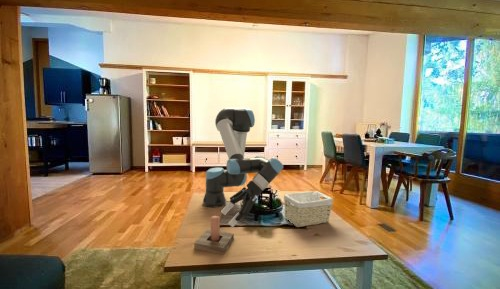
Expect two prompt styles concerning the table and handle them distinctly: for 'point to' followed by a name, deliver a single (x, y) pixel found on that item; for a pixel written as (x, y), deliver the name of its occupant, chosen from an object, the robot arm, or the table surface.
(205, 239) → the socket block
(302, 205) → the storage basket
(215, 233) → the pin
